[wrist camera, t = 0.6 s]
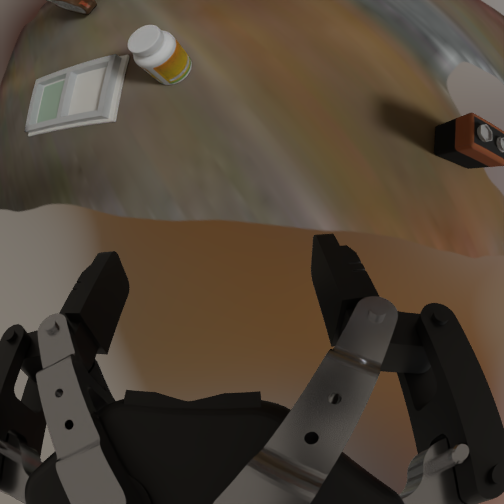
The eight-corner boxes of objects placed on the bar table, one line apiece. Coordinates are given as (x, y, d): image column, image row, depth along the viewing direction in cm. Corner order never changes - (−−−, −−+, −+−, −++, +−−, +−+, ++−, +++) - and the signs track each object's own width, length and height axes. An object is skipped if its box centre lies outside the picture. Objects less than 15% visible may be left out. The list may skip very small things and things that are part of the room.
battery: (434, 125, 29) (475, 108, 19) (470, 141, 28) (513, 132, 18) (432, 154, 29) (475, 145, 20) (468, 169, 29) (513, 166, 19)
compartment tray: (41, 81, 32) (33, 78, 30) (129, 56, 31) (122, 50, 28) (30, 136, 35) (21, 135, 32) (115, 121, 33) (106, 118, 31)
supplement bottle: (196, 53, 30) (172, 17, 21) (187, 86, 31) (157, 56, 22) (162, 53, 30) (131, 22, 21) (151, 85, 32) (115, 60, 22)
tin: (104, 7, 29) (80, -13, 21) (93, 19, 29) (67, 1, 21) (69, -1, 28) (47, -16, 20) (60, 10, 29) (37, -3, 21)
